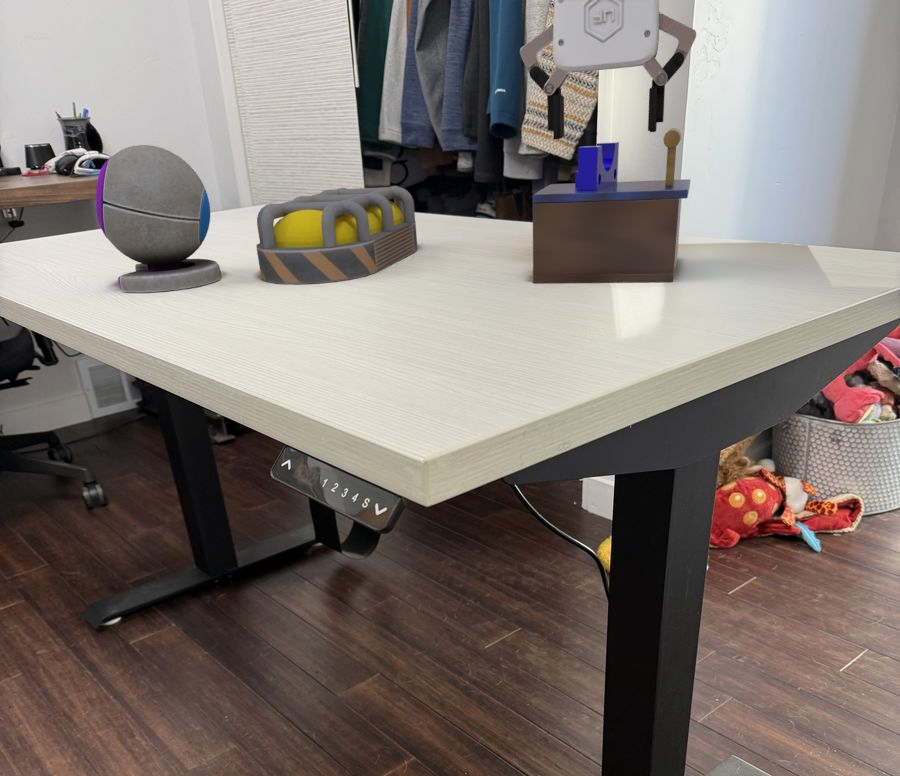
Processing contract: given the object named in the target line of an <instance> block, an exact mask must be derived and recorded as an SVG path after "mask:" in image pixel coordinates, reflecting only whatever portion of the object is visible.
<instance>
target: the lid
mask: <svg viewBox="0 0 900 776" xmlns="http://www.w3.org/2000/svg"><path fill="white" fill-rule="evenodd" d="M682 135H683V134H682V132H681V130H680V129H679V128H678V127H672V128H670V129H669V130H667V132H666V133H665V134H664V136H663V144H664V146H665V147H666V148H667V151H666V152H667V153H666V167H665V179H662V180H661V179H660V180H658V179H657V180H634V181H633V180H629V181H617V184H614V185H611V186H609V187H606V188H603V189H601V190H598V191H578V188H575V183H574V182H573V183H550V184H549V185H547V186H545V187H544V188H541V189H540V190H539V191H537V192H535V193H534V194H532V204H533V203H552V202H585V201H618V200H651V199H681V200H682V199H688V198H689V197H688V196H689V192H690V188H691V179H689V178H688V179H675V171H676V157H677V155H676V154H677V146H679V143H680V142H681V140H682Z"/></svg>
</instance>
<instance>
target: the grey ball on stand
mask: <svg viewBox="0 0 900 776" xmlns="http://www.w3.org/2000/svg"><path fill="white" fill-rule="evenodd" d="M204 185H205V184H204V183H203V181H202V179H201V177H200V176H199V175H198V174H197V172H196V171H195V170H194V169H193V168H192V166H191V165H190V164H189V163H188V162H186V160H185V159H183V158H182V157H181V156H179V155H177V154H176V153H174V152H172V151H170V150H168V149H165V148H164V147H160V146H157V145H156V146H154V145H150V144H138V145H131V146H127V147H125V148H123V149H121V150H119V151H118V152H116V153H114V154H113V155H111V156H109V158H108V159H107V160H106V161H105V162H104V163H103V165H102V166H101V168H100V171H99V172H98V178H97V183H96V192H95V193H96V194H95V206H96V207H95V208H96V209H95V210H96V217H97V218H96V219H97V222H98V225H99V227H100V229H101V231H102V233H103V235H104V236H105V238H106V239H107V240H108V241H109V242H110V243H111V244H112V246H113V247H114V248H115V249H116V250H117V251H118V252H120V253H121V254H122V255H124V256H125V257H127V258H129V259H131V260H132V261H135V262H136V264H135V265H134V267H135V268H134V270H135V271H131V272H127V273H124V274H121V275H120V276H118V277H117V281H118V285H119V288H120V290H121V292H122V293H156V292H168V291H177V290H184V289H191V288H196V287H201V286H205V285H209V284H213V283H215V282H218V281H219V280H221V279H222V272H221V271H222V270H221V267H220V265H219V263H218V261H216V260H212V259H208V258H207V259H206V258H190V257H191V256H192V255H193V254H195V253H196V251H198V250H199V249H200V247H201V246H202V244H203V242H204V241H205V239H206V238H207V235H208V231H209V229H210V223H211V204H210V200H209V196H208V193H207V189H206V187H205V186H204Z"/></svg>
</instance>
